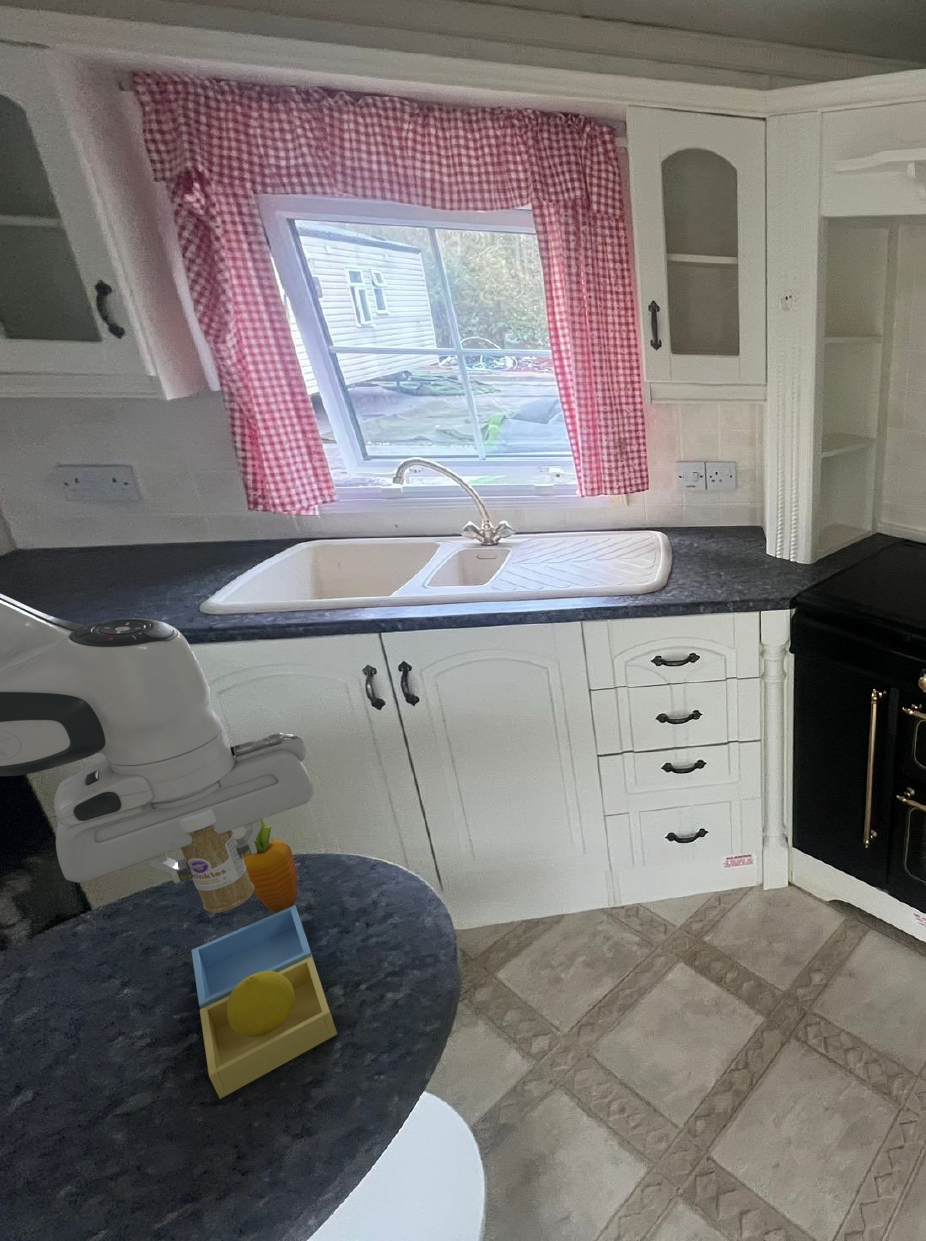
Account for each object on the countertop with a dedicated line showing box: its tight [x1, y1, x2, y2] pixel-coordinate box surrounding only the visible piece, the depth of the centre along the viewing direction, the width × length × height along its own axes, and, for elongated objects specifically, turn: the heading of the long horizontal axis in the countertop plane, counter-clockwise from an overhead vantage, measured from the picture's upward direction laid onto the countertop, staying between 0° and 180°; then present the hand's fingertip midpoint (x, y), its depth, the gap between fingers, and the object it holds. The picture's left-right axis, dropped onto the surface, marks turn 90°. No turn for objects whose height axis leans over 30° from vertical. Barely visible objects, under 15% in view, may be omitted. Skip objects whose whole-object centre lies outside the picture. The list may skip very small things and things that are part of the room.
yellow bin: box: [199, 956, 338, 1100], centre depth 77 cm, size 10×10×4 cm
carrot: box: [235, 819, 298, 914], centre depth 90 cm, size 5×5×15 cm
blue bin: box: [190, 904, 319, 1010], centre depth 84 cm, size 10×10×4 cm
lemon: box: [227, 971, 295, 1037], centre depth 76 cm, size 6×6×8 cm
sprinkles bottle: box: [179, 810, 254, 914], centre depth 78 cm, size 5×5×13 cm
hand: (216, 865), depth 78 cm, fingers closed on sprinkles bottle, 4 cm apart
